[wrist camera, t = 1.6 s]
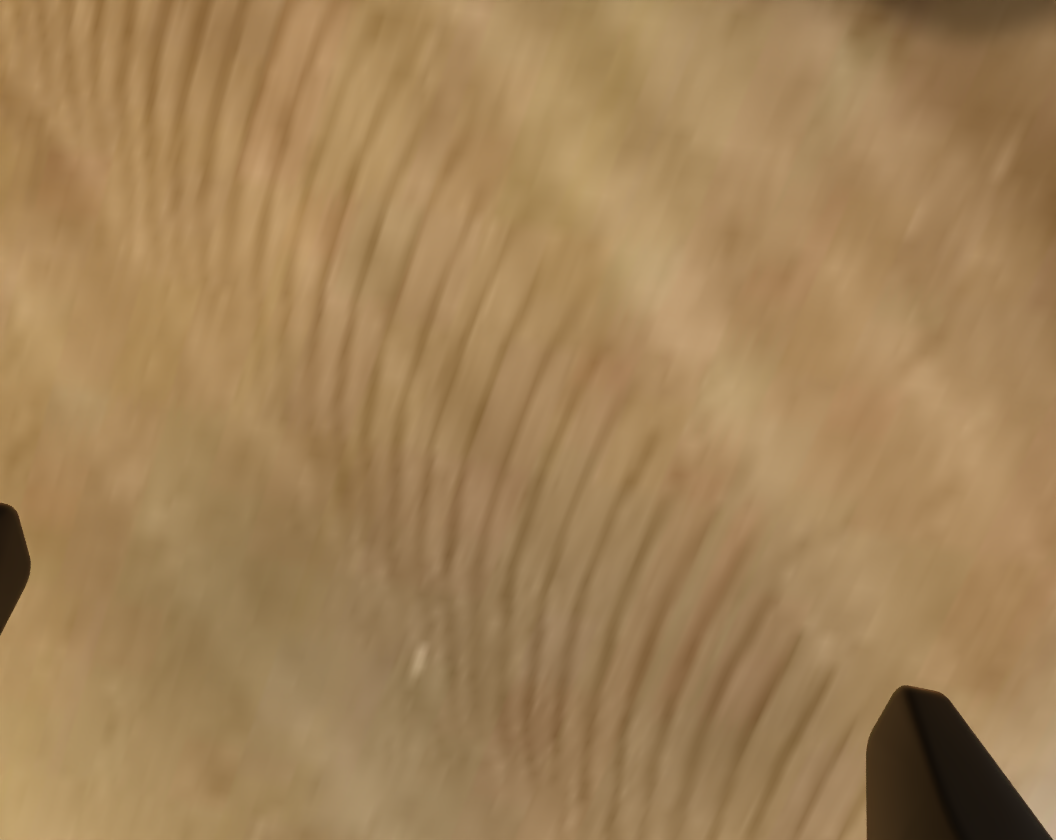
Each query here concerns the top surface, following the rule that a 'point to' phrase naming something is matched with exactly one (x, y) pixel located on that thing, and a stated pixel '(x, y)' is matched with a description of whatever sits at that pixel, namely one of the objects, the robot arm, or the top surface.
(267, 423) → the top surface
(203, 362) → the top surface
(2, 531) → the robot arm
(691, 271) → the top surface
